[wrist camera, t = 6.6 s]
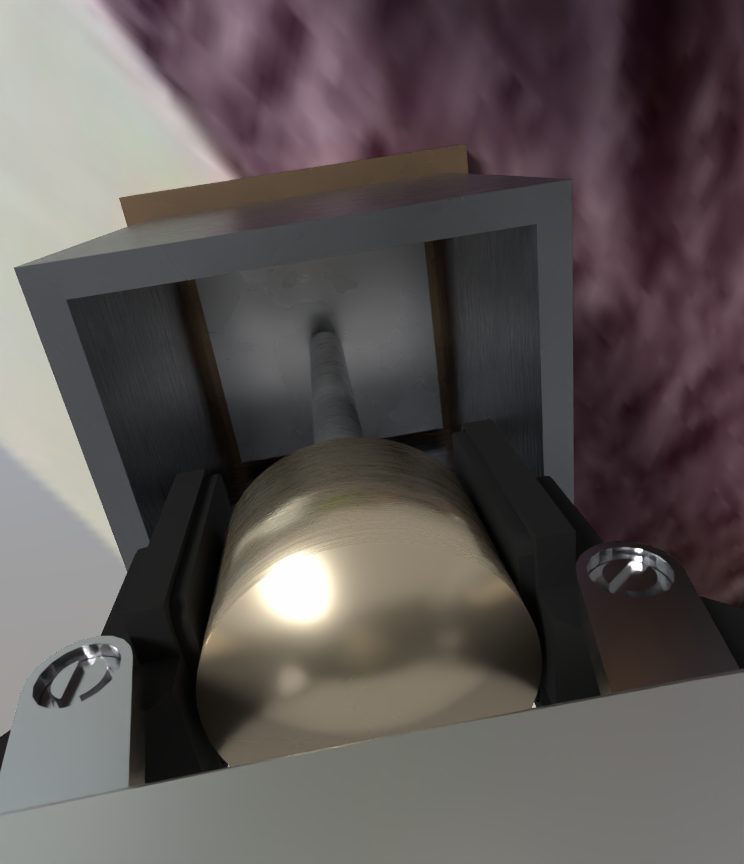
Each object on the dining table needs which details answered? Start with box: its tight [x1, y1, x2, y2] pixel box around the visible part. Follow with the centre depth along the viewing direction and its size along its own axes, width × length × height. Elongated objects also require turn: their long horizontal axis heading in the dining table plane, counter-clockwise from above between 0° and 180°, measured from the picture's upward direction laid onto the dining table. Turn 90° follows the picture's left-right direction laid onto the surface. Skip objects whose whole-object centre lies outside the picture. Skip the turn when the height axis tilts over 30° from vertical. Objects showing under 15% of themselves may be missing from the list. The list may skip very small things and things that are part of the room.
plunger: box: [195, 242, 542, 767], centre depth 16 cm, size 8×8×17 cm
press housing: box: [14, 144, 574, 572], centre depth 19 cm, size 12×12×12 cm
